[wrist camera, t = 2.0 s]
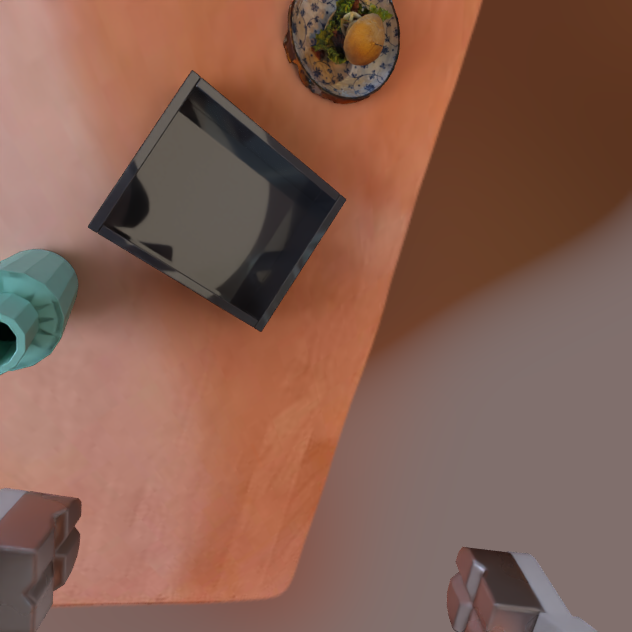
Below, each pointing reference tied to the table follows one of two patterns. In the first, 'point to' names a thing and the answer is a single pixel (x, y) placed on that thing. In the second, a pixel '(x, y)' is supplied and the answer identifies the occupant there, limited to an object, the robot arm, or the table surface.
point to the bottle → (33, 306)
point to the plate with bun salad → (343, 46)
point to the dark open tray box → (219, 205)
